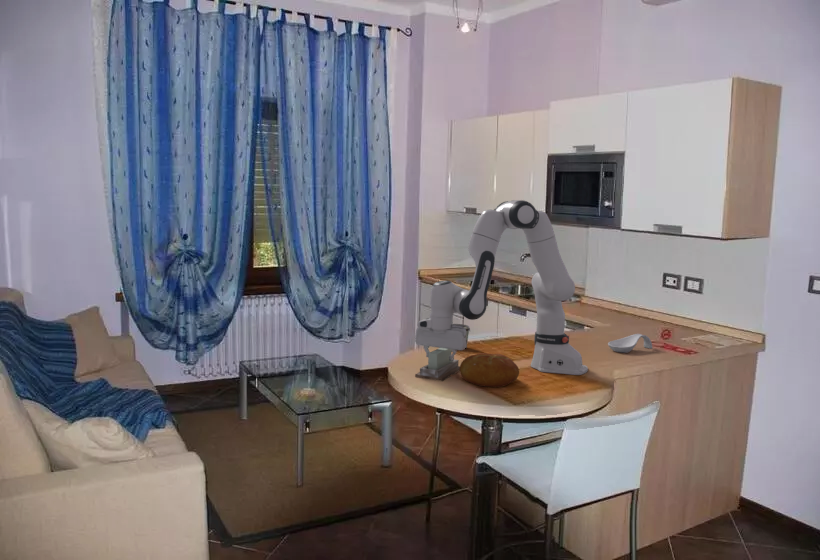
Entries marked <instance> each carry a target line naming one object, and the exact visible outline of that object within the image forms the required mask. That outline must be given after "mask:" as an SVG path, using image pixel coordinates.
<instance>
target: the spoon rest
mask: <svg viewBox="0 0 820 560" xmlns="http://www.w3.org/2000/svg"><path fill="white" fill-rule="evenodd" d="M641 338H642V339H643V347H644V348H645V349H646V348H647V349H649V350H650V349H651V350H652V349H653V343H652V340H651V339H650V337H649V336H647V335H645V334H641V333H634V334H631V335H627V336H625V337H622V338H618V339H614V340H611V341H608V343H607V345H608V347H609V348H610V349H611V350H612V351H614V352H617V353H622V354H627V353H630V352H631V351H633V349H634V348H635V347H636V345H637V343H638V342H639V340H640V339H641Z"/></svg>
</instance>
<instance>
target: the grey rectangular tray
mask: <svg viewBox="0 0 820 560" xmlns="http://www.w3.org/2000/svg"><path fill="white" fill-rule="evenodd" d="M457 373H460V365H459V359H455V358H454V360H453V361H451V362H450V363H449V364H447V365H445V366H443V367H441V368H439V369H437V370H433V369H428V364H426V365H423V366H422V367H420V368H419V372H417V373H415V376H414V377H415V378H421V379H425V380H432V381H438V382H439V381H440V382H443V381H444V380H447V379H448V378H450V377H452V376H454V375H455V374H457Z"/></svg>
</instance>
